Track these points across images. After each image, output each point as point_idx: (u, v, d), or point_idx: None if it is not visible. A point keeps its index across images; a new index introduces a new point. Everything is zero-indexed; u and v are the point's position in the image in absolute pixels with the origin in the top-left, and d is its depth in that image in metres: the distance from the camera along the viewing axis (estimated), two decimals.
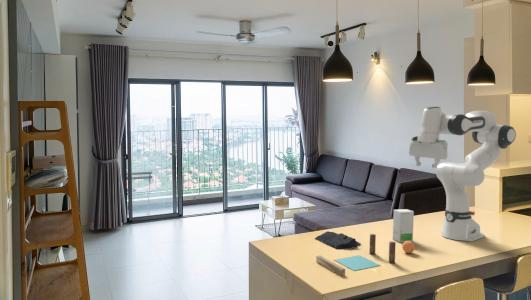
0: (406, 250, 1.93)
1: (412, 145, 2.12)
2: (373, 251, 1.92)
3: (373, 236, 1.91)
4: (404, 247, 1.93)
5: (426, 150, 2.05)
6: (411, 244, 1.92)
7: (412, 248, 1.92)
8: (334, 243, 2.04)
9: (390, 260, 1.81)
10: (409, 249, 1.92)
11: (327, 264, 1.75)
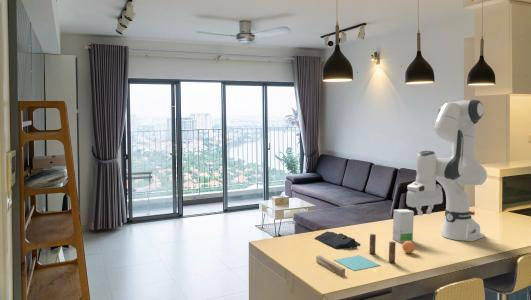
0: (406, 250, 1.93)
1: (416, 196, 1.91)
2: (373, 251, 1.92)
3: (373, 236, 1.91)
4: (404, 247, 1.93)
5: (428, 198, 1.95)
6: (411, 244, 1.92)
7: (412, 248, 1.92)
8: (333, 243, 2.04)
9: (390, 260, 1.81)
10: (409, 249, 1.92)
11: (327, 264, 1.75)
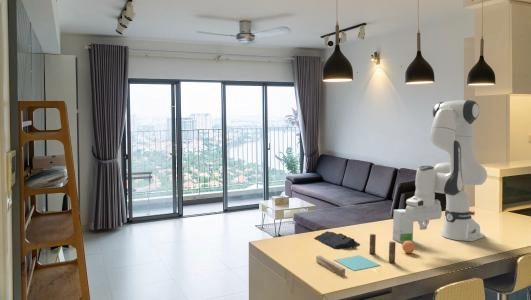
0: (406, 250, 1.93)
1: (415, 210, 1.91)
2: (373, 251, 1.92)
3: (373, 236, 1.91)
4: (404, 247, 1.93)
5: (427, 213, 1.96)
6: (411, 244, 1.92)
7: (412, 248, 1.92)
8: (333, 243, 2.04)
9: (390, 260, 1.81)
10: (409, 249, 1.92)
11: (327, 264, 1.75)
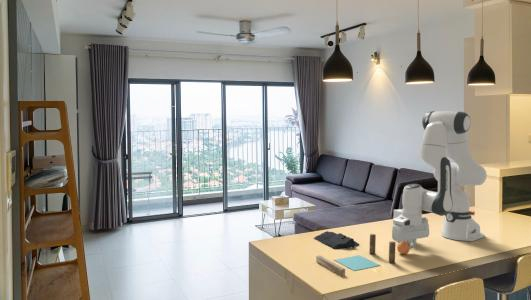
0: None
1: (401, 230, 1.89)
2: (373, 251, 1.92)
3: (373, 236, 1.91)
4: (400, 252, 1.92)
5: (414, 232, 1.93)
6: (404, 247, 1.90)
7: (407, 250, 1.90)
8: (332, 243, 2.04)
9: (390, 260, 1.81)
10: (406, 252, 1.91)
11: (327, 264, 1.75)
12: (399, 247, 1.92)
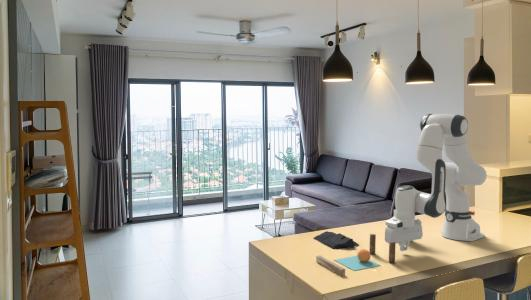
0: None
1: (394, 232, 1.87)
2: (373, 251, 1.92)
3: (373, 236, 1.91)
4: None
5: (407, 234, 1.91)
6: (366, 261, 1.81)
7: (368, 257, 1.80)
8: (331, 243, 2.04)
9: (390, 260, 1.81)
10: (370, 256, 1.81)
11: (327, 264, 1.75)
12: None
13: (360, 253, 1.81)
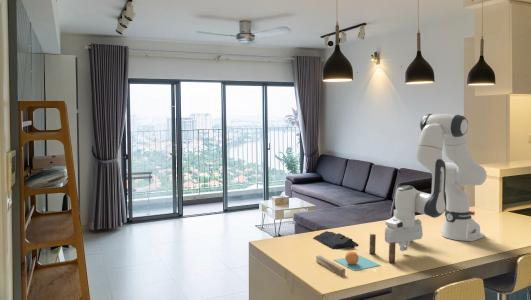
0: (349, 256, 1.78)
1: (394, 232, 1.87)
2: (373, 251, 1.92)
3: (373, 236, 1.91)
4: (350, 253, 1.79)
5: (407, 234, 1.91)
6: (357, 256, 1.78)
7: (355, 259, 1.77)
8: (331, 243, 2.04)
9: (390, 260, 1.81)
10: (353, 257, 1.77)
11: (327, 264, 1.75)
12: (355, 252, 1.80)
13: None
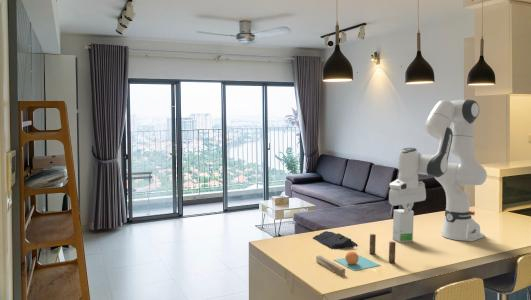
0: (349, 256, 1.78)
1: (398, 194, 1.89)
2: (373, 251, 1.92)
3: (373, 236, 1.91)
4: (350, 253, 1.79)
5: (411, 195, 1.93)
6: (357, 256, 1.78)
7: (355, 259, 1.77)
8: (330, 243, 2.04)
9: (390, 260, 1.81)
10: (353, 257, 1.77)
11: (327, 264, 1.75)
12: (355, 252, 1.80)
13: None
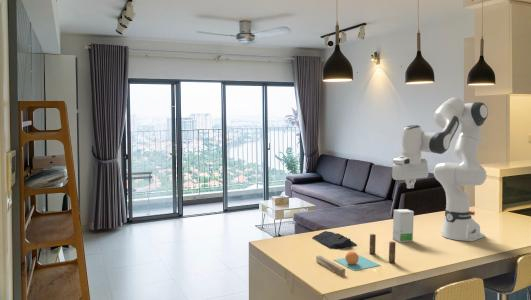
0: (349, 256, 1.78)
1: (401, 168, 1.94)
2: (373, 251, 1.92)
3: (373, 236, 1.91)
4: (350, 253, 1.79)
5: (414, 171, 1.98)
6: (357, 256, 1.78)
7: (355, 259, 1.77)
8: (329, 243, 2.04)
9: (390, 260, 1.81)
10: (353, 257, 1.77)
11: (327, 264, 1.75)
12: (355, 252, 1.80)
13: None
